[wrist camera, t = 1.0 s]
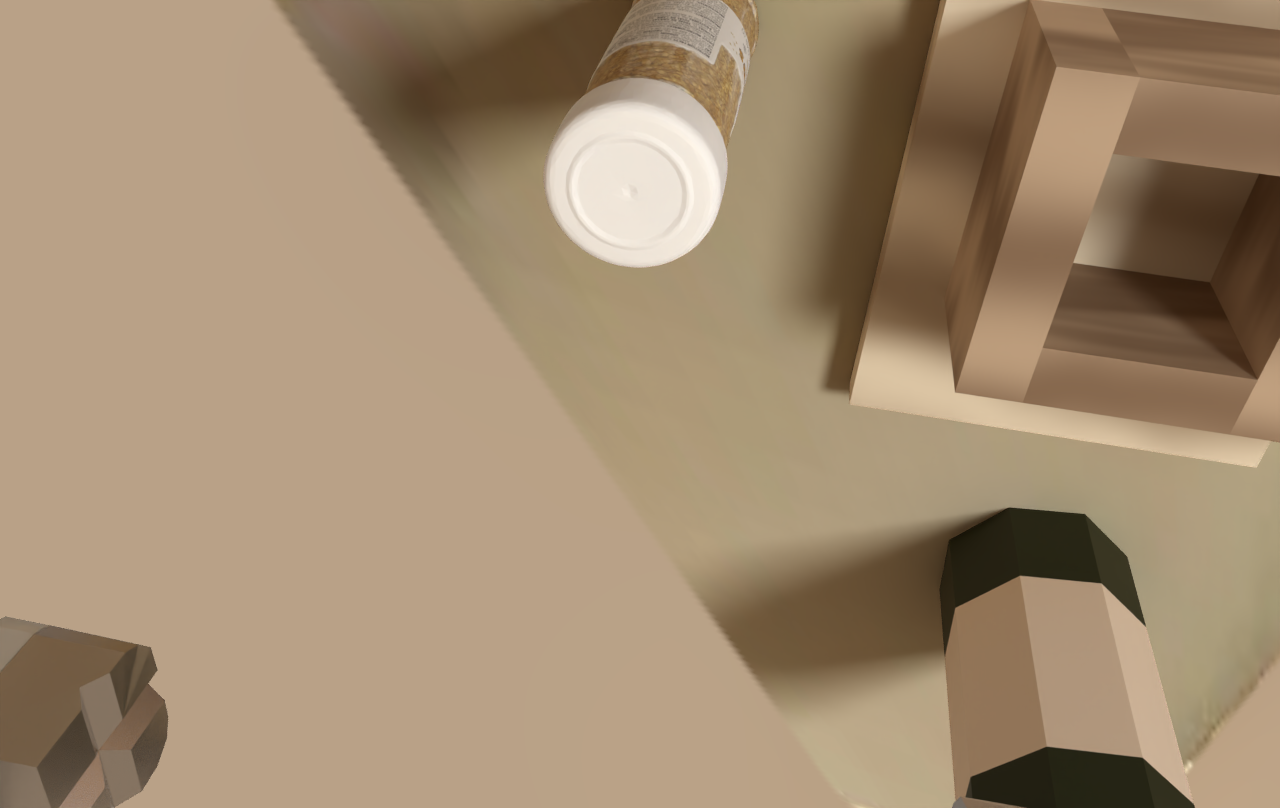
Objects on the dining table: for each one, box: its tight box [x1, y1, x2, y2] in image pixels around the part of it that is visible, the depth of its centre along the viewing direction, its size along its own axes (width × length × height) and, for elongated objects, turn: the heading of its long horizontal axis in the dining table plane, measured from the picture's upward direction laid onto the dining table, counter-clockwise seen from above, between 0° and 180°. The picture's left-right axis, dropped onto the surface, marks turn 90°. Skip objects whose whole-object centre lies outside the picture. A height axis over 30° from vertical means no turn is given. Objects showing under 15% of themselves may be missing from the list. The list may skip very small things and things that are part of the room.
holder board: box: [849, 0, 1280, 468], centre depth 35 cm, size 22×16×8 cm
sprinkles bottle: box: [544, 0, 759, 267], centre depth 33 cm, size 5×5×14 cm
